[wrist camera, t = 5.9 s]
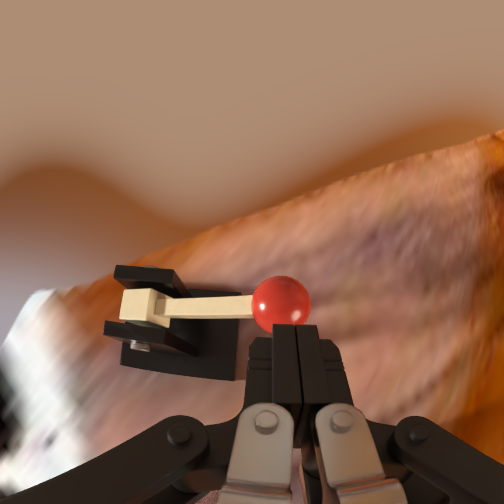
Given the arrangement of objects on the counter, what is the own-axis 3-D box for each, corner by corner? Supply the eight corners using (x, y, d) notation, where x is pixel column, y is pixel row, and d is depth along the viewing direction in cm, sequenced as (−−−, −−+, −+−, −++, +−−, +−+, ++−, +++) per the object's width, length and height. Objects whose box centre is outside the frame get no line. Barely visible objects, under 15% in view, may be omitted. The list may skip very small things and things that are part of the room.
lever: (317, 283, 17) (301, 264, 15) (316, 338, 16) (300, 329, 14) (150, 294, 23) (121, 281, 20) (144, 334, 22) (113, 324, 19)
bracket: (241, 295, 32) (233, 244, 20) (234, 380, 28) (221, 383, 17) (135, 286, 32) (80, 236, 21) (124, 365, 29) (55, 352, 17)
